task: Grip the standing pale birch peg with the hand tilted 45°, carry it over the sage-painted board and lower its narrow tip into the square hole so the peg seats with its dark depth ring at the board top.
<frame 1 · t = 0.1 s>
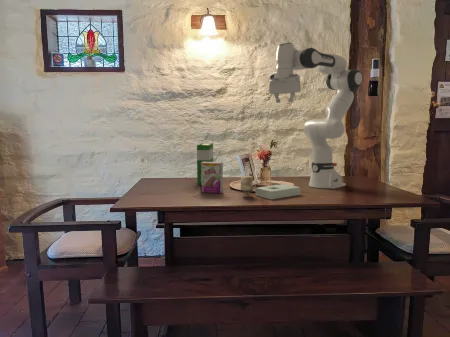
hand: (284, 102, 199), 48 cm above the table, tool pointing down, fingers open, 8 cm apart
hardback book: (205, 182, 237), on the table
peg: (246, 196, 195), on the table
candy bar box: (211, 192, 205), on the table
board: (277, 195, 198), on the table
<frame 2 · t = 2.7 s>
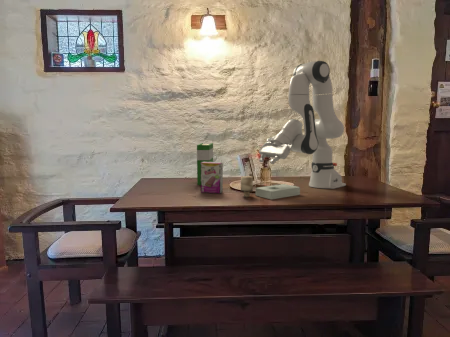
hand: (265, 162, 199), 17 cm above the table, tool tilted 45°, fingers open, 8 cm apart
nothing on the table moved.
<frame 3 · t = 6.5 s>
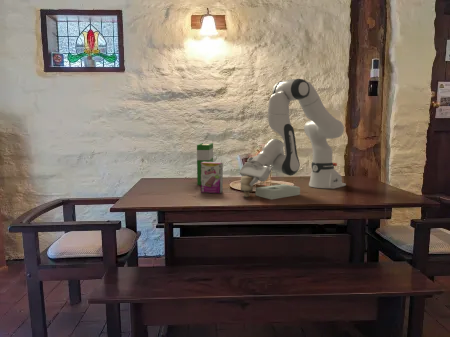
hand: (245, 184, 194), 6 cm above the table, tool tilted 45°, fingers closed on peg, 6 cm apart
peg: (246, 196, 195), on the table, touching gripper
everything else where it was.
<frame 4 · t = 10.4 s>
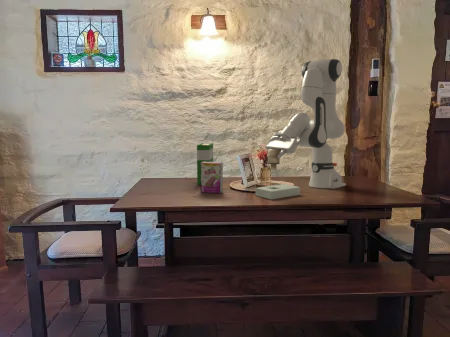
hand: (272, 157, 193), 20 cm above the table, tool tilted 45°, fingers closed on peg, 6 cm apart
peg: (273, 169, 194), point 14 cm above the table, touching gripper
everything else where it was.
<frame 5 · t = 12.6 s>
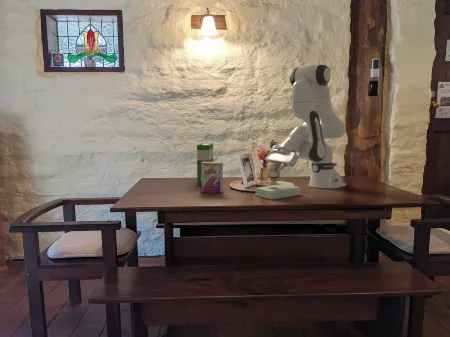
hand: (272, 170, 194), 13 cm above the table, tool tilted 45°, fingers closed on peg, 6 cm apart
peg: (273, 182, 195), point 7 cm above the table, touching gripper
everything else where it was.
when the fingers open (8 cm above the table, at t = 14.5 s): peg stays where it is, resting on board.
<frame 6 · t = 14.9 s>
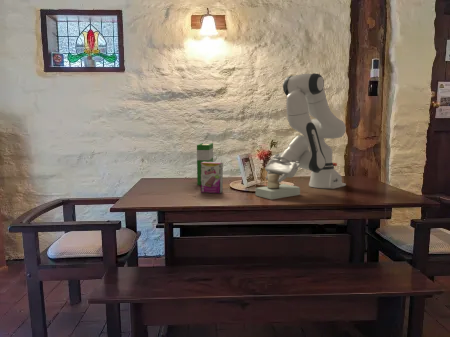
hand: (272, 180, 195), 8 cm above the table, tool tilted 45°, fingers open, 8 cm apart
peg: (273, 193, 196), point 1 cm above the table, touching board
everything else where it was.
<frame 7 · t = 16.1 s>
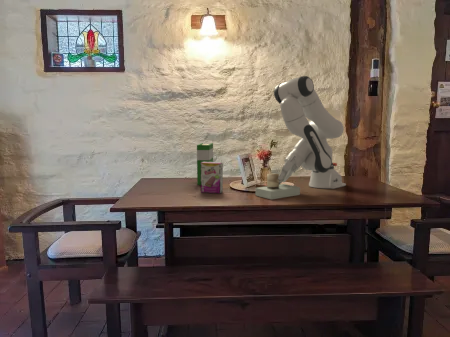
hand: (278, 182, 196), 7 cm above the table, tool tilted 45°, fingers open, 7 cm apart
peg: (273, 193, 196), point 1 cm above the table, touching gripper
everything else where it was.
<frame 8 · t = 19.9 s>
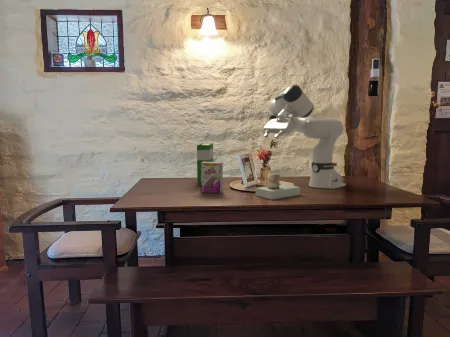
hand: (270, 137, 204), 29 cm above the table, tool tilted 45°, fingers open, 8 cm apart
peg: (273, 193, 196), point 1 cm above the table, touching board
everything else where it was.
at the end: peg 0.5 cm from the target spot on the board, point 1.0 cm above the board's base; peg tilted 0°; the gripper is holding nothing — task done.
